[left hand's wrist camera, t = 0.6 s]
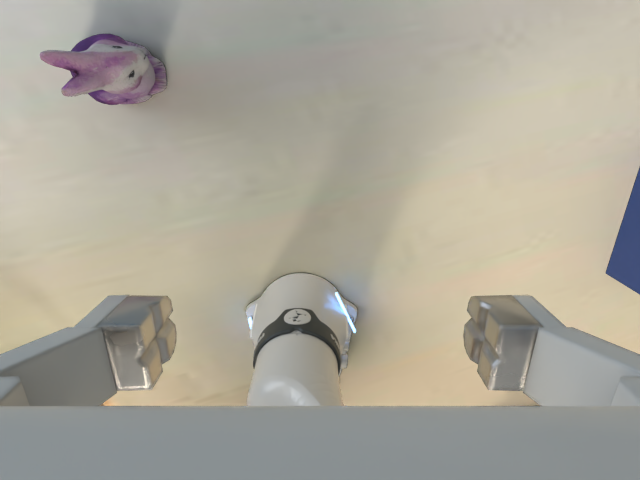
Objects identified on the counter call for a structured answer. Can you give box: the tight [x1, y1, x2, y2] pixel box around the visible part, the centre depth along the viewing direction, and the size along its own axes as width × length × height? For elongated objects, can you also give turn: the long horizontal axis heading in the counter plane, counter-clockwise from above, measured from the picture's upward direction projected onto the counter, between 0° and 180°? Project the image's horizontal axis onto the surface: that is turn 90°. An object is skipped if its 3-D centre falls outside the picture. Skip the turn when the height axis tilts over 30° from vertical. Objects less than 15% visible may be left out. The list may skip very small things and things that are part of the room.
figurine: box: [40, 34, 167, 105], centre depth 42 cm, size 9×10×15 cm
